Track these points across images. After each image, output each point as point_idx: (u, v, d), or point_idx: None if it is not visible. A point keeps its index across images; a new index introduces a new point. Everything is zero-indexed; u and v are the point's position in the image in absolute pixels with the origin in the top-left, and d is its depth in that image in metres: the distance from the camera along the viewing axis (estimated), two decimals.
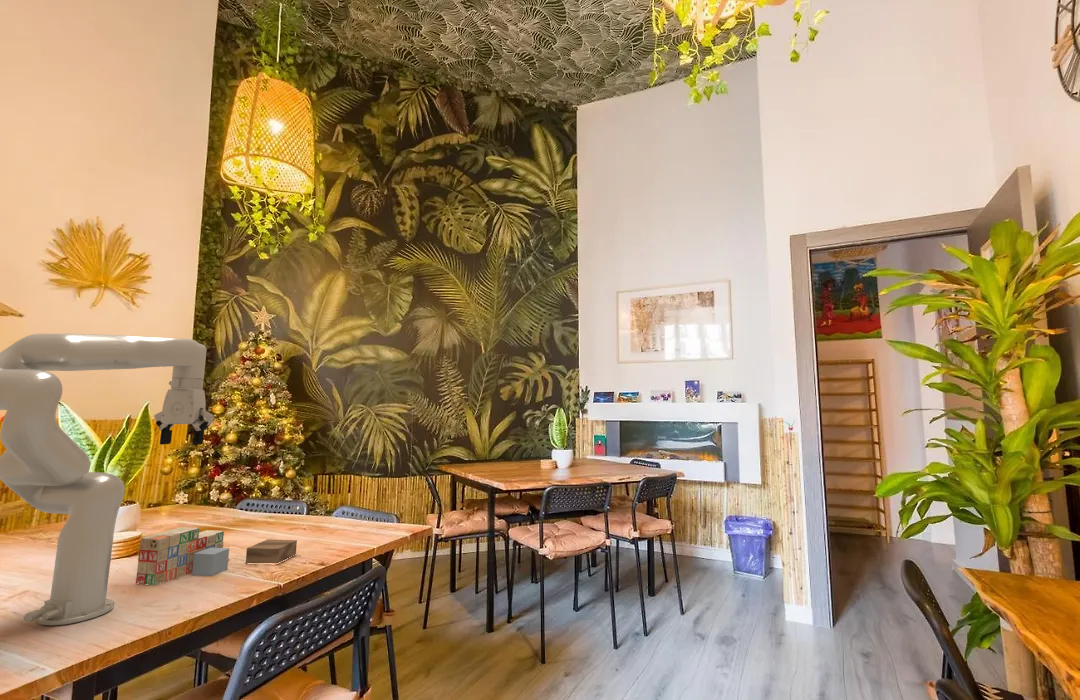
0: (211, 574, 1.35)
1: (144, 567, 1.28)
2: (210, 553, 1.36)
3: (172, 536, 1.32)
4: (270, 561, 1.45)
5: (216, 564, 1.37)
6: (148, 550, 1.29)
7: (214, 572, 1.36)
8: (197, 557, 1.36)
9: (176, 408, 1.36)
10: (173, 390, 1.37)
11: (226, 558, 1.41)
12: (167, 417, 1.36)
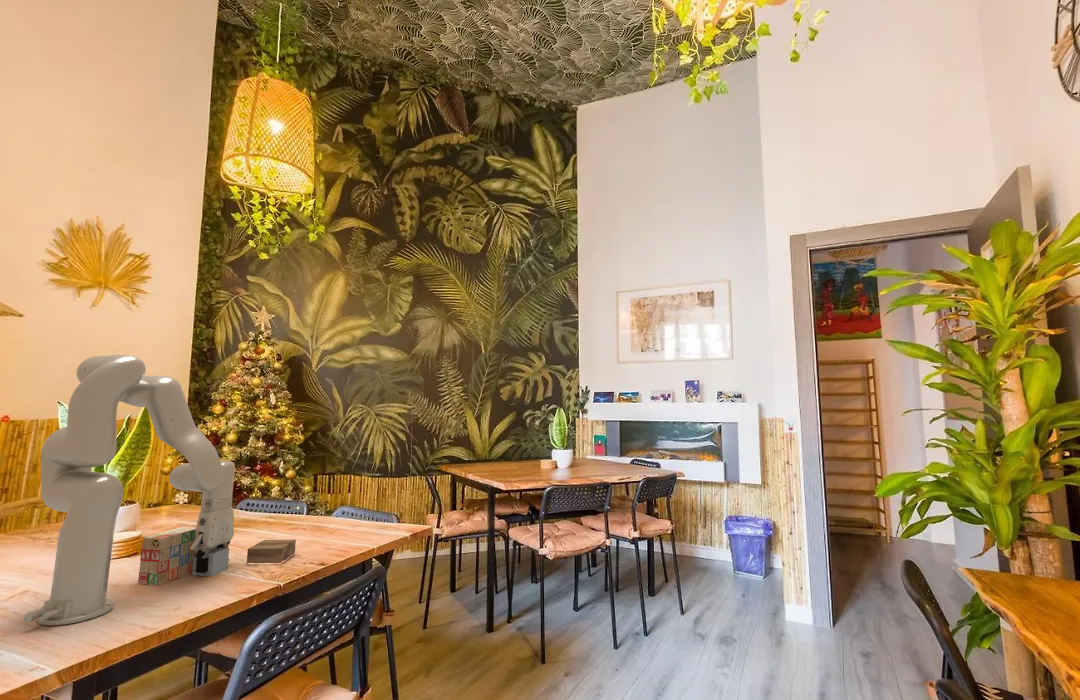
0: (211, 574, 1.35)
1: (146, 566, 1.29)
2: (210, 553, 1.37)
3: (174, 536, 1.33)
4: (273, 561, 1.46)
5: (216, 564, 1.37)
6: (150, 549, 1.29)
7: (214, 572, 1.36)
8: None
9: (222, 529, 1.39)
10: (219, 511, 1.38)
11: (226, 558, 1.41)
12: (215, 540, 1.37)
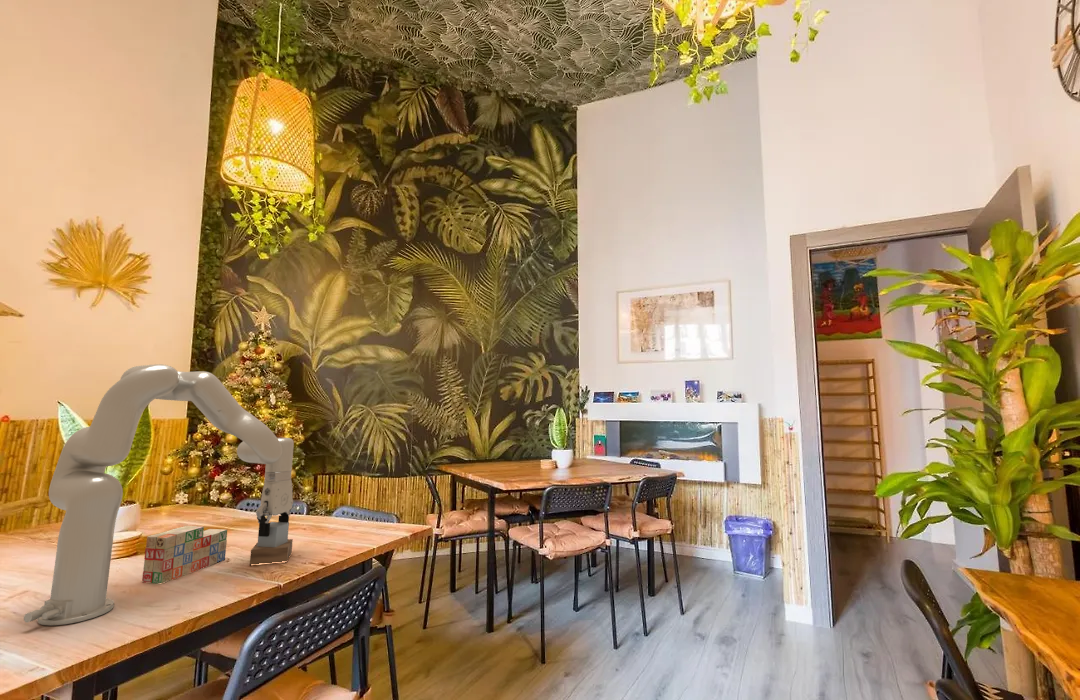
0: (274, 545, 1.48)
1: (150, 565, 1.30)
2: (273, 526, 1.49)
3: (178, 535, 1.34)
4: (278, 560, 1.47)
5: (279, 536, 1.49)
6: (155, 548, 1.30)
7: (277, 543, 1.49)
8: None
9: (284, 499, 1.52)
10: (281, 483, 1.51)
11: (286, 531, 1.53)
12: (278, 508, 1.49)
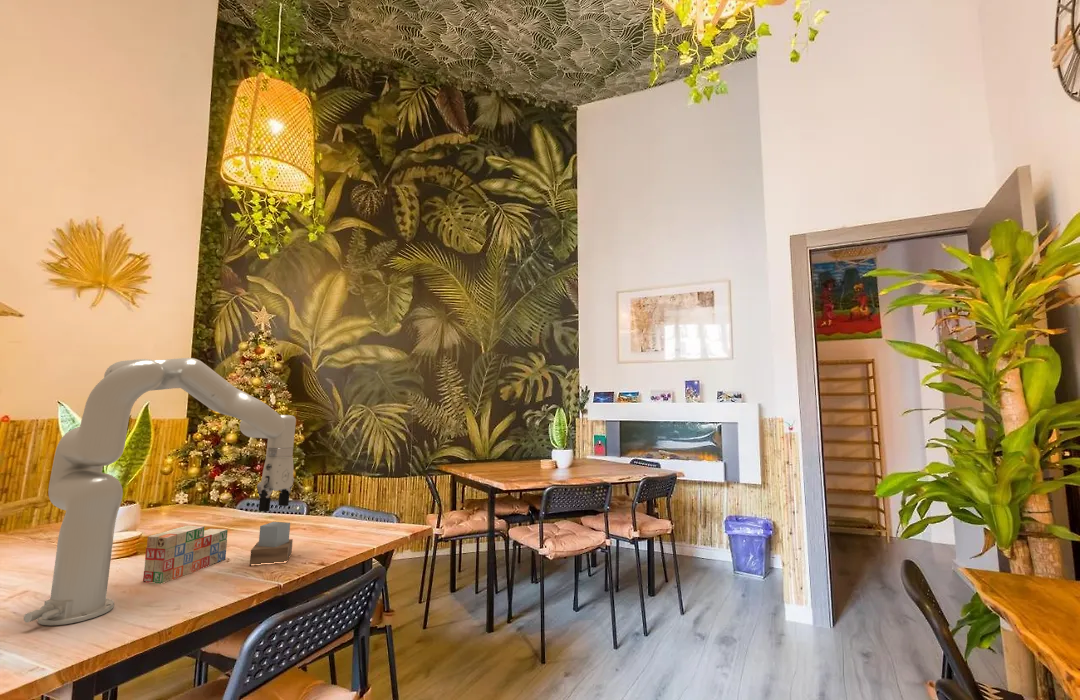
0: (275, 545, 1.48)
1: (151, 565, 1.30)
2: (274, 526, 1.49)
3: (179, 534, 1.34)
4: (278, 560, 1.46)
5: (279, 536, 1.49)
6: (155, 548, 1.30)
7: (278, 543, 1.49)
8: (263, 529, 1.49)
9: (285, 475, 1.53)
10: (283, 459, 1.52)
11: (288, 531, 1.53)
12: (279, 484, 1.50)
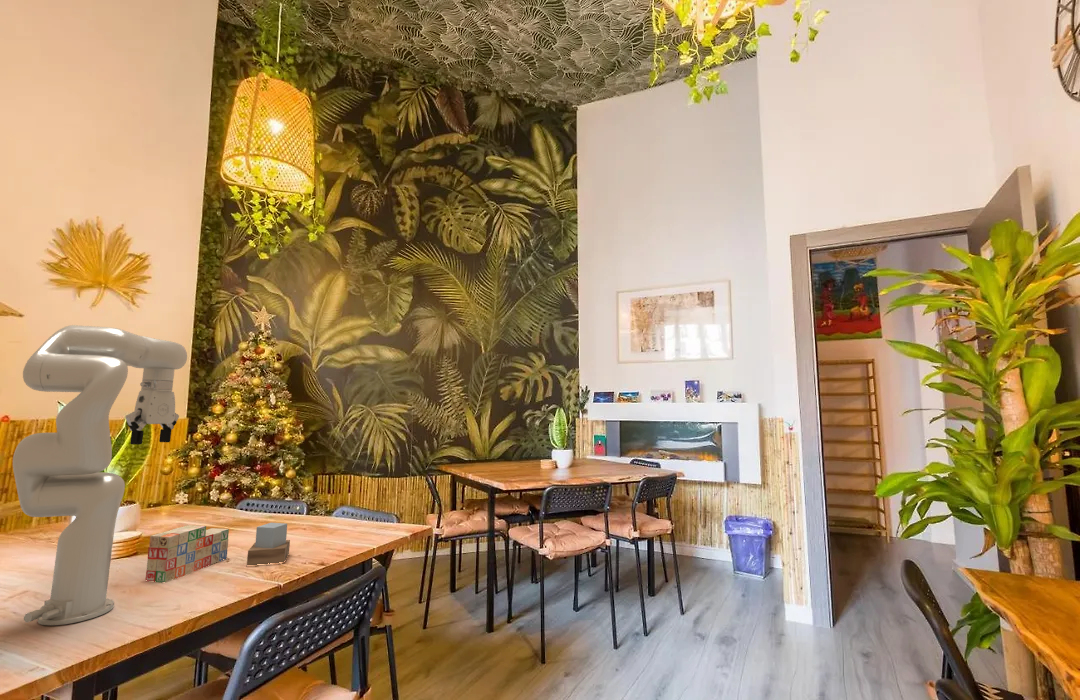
0: (271, 546, 1.47)
1: (153, 564, 1.31)
2: (270, 527, 1.48)
3: (181, 534, 1.35)
4: (276, 561, 1.46)
5: (276, 537, 1.48)
6: (158, 548, 1.31)
7: (274, 544, 1.47)
8: (259, 530, 1.48)
9: (162, 409, 1.45)
10: (159, 392, 1.45)
11: (285, 532, 1.52)
12: (154, 417, 1.43)
